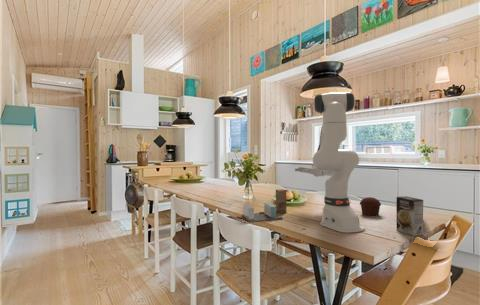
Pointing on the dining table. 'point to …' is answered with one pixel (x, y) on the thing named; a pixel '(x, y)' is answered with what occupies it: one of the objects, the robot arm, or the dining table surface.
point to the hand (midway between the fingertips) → (298, 170)
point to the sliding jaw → (270, 210)
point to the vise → (254, 214)
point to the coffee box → (410, 215)
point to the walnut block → (281, 201)
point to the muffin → (370, 206)
